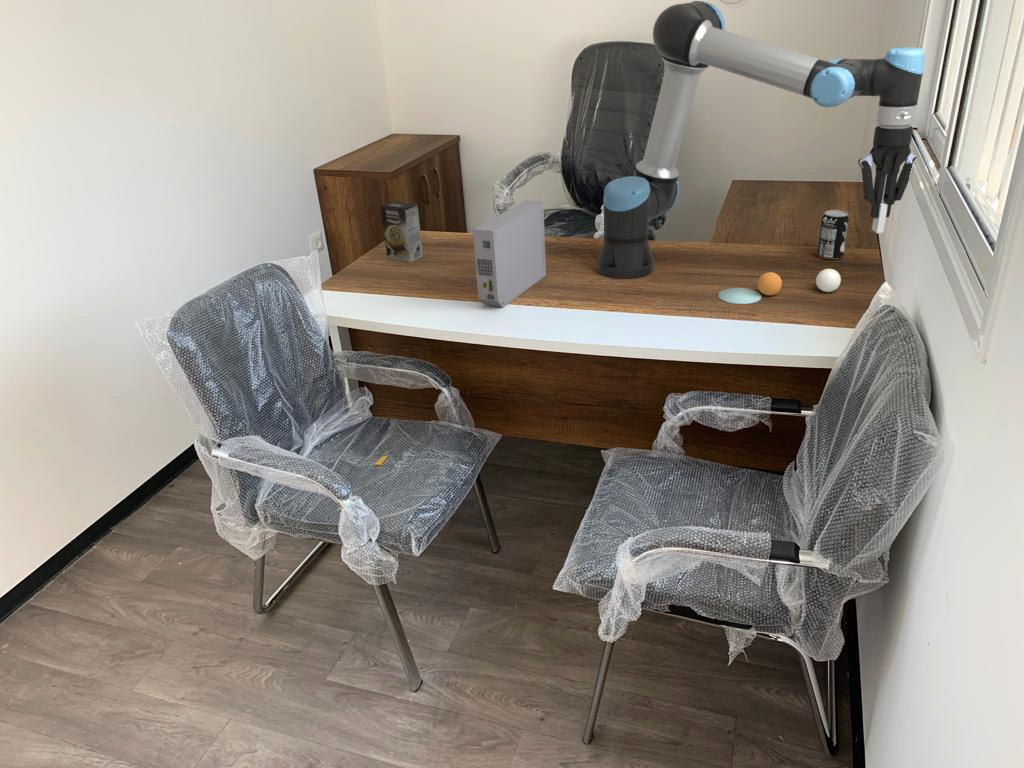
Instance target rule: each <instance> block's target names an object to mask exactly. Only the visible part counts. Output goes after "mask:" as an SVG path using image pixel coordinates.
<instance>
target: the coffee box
mask: <svg viewBox="0 0 1024 768" xmlns="http://www.w3.org/2000/svg"><path fill="white" fill-rule="evenodd" d="M379 207H380V213H381V221H382V228H383V237H384V243H385V248H386V249H385V251H386V258H387V260H391V261H397V262H403V263H410V264H411V263H413V262H415V261H417V260H419V258H420V259H421V257H422V258H423V257H424V254H423V246H422V236H421V227H420V215H419V206H418V203H416V202H409V201H408V202H407V201H400V200H392V201H390V202H385V203H383V204H381V205H380V206H379Z"/></svg>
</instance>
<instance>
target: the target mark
mask: <svg viewBox="0 0 1024 768" xmlns="http://www.w3.org/2000/svg"><path fill="white" fill-rule="evenodd" d="M717 295H718V299H720V300H721V301H723V302H725V303H730V304H733V305H734V304H735V305H750V304H755V303H757V302H759V301H761V300H762V293H761V292H758V291H756V290H753V289H750V288H744V287H732V288H726V289H725V288H724V289H722V290H721V291H719V292H718V294H717Z"/></svg>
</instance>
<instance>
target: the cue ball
mask: <svg viewBox="0 0 1024 768" xmlns="http://www.w3.org/2000/svg"><path fill="white" fill-rule="evenodd" d="M841 280H842V278H841V275H840V273H839V272H838V271H837V270H836V269H833V268H825V269H822V270H821V271H819V273H818V274H817V275H816V279H815V283H816V286H817V288H818V289H819V290H821V291H822V292H826V293H830V292H835V290H837V289H838V288H839V287H840V286H841V285H840V284H841V282H842V281H841Z"/></svg>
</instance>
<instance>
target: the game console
mask: <svg viewBox="0 0 1024 768" xmlns="http://www.w3.org/2000/svg"><path fill="white" fill-rule="evenodd" d="M544 215H545V214H544V202H543V201H542V200H532V199H525V200H523V201H522V202H520V203H518V204H516V205H514V206H512V207H510V208H509V209H507V210H506V211H503V212H501V213H500V214H498V215H496V216H495V217H493V218H491V219H489V220H487V221H485V222H484V223H482V224H480V225H478V226H476V227H474V228H472V239H473V247H474V248H473V249H474V260H475V273H476V275H475V276H476V285H477V286H476V287H477V298H478V300H479V302H481V304H482V305H484V306H490V307H497V308H505V306H507V305H508V304H510V303H511V302H512V301H514V300H515V299H516V298H517V297H519V296H520V295H522V294H523V293H525V292H526V291H527V290H528V289H531V287H532V286H534V285H535V284H536V283H538V282H539V281H540V280H541V279H543V278H545V276H547V265H546V244H545V243H546V241H545V238H546V237H545V216H544Z"/></svg>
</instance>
